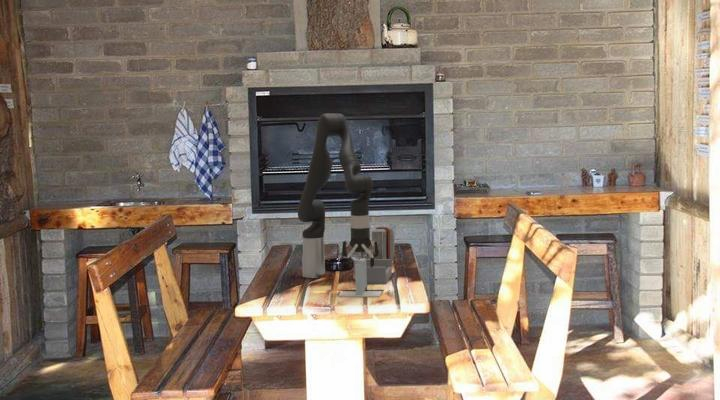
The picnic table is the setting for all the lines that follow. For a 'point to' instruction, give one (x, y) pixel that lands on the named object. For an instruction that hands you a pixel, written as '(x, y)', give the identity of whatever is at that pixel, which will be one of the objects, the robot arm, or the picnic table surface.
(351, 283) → the picnic table surface
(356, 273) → the grey flat slab
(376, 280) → the rack
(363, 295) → the mat
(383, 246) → the decorative stone tablet
